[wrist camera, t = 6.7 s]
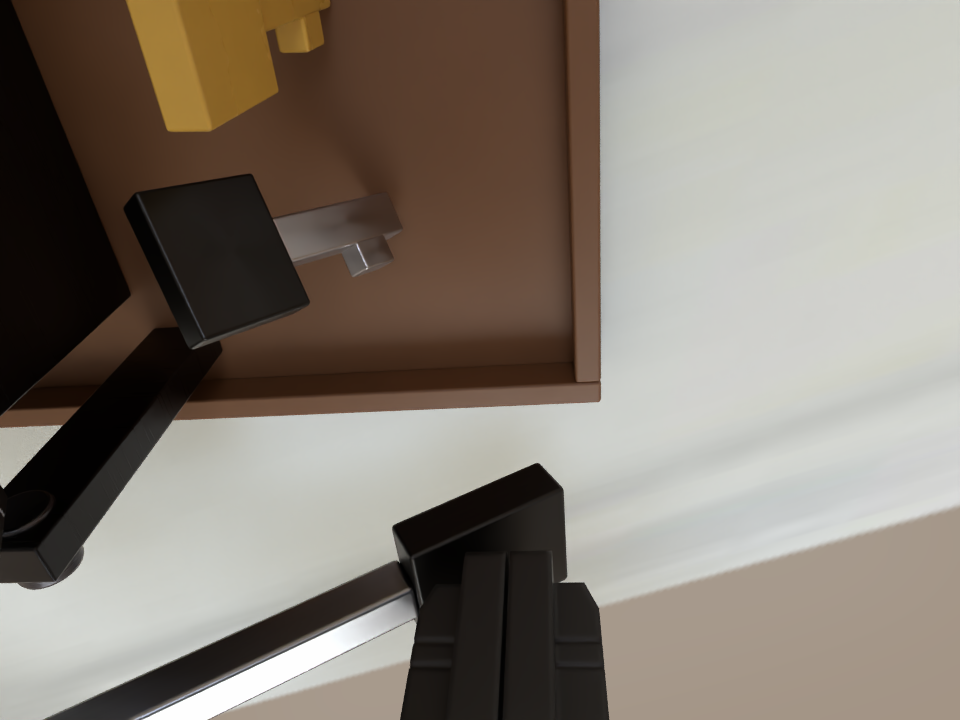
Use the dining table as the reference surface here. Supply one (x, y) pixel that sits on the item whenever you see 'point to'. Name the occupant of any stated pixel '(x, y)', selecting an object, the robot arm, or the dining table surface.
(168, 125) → the brass key
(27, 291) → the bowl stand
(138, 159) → the tray
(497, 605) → the robot arm
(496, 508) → the fryer basket
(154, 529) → the dining table surface
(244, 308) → the black key
